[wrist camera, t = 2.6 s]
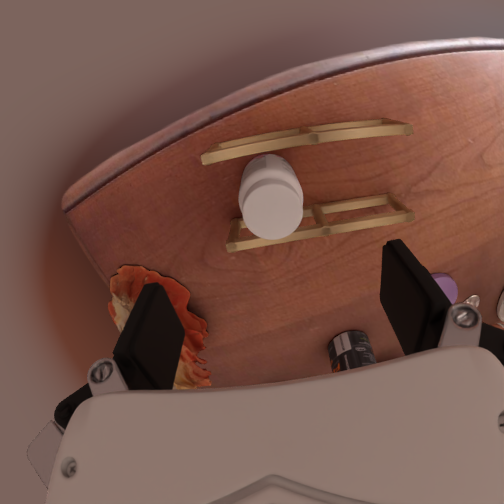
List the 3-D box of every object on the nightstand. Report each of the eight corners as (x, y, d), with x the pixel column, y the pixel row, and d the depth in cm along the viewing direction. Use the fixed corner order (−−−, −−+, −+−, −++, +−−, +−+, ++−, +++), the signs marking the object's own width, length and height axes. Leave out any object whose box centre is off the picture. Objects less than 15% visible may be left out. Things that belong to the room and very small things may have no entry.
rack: (387, 117, 22) (412, 123, 18) (392, 201, 26) (414, 221, 22) (210, 143, 24) (199, 154, 20) (232, 227, 28) (227, 253, 24)
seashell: (171, 240, 31) (84, 279, 34) (136, 294, 21) (43, 329, 24) (235, 346, 38) (150, 365, 40) (229, 411, 28) (131, 420, 31)
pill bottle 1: (241, 200, 27) (234, 243, 19) (243, 151, 24) (236, 175, 17) (291, 203, 27) (303, 247, 19) (296, 155, 24) (313, 181, 17)
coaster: (459, 267, 30) (463, 271, 29) (447, 315, 34) (449, 320, 33) (404, 280, 31) (408, 285, 30) (397, 330, 35) (399, 335, 35)
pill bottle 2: (324, 336, 36) (338, 409, 26) (366, 323, 35) (390, 394, 25) (331, 361, 39) (343, 427, 29) (369, 349, 37) (388, 414, 28)
